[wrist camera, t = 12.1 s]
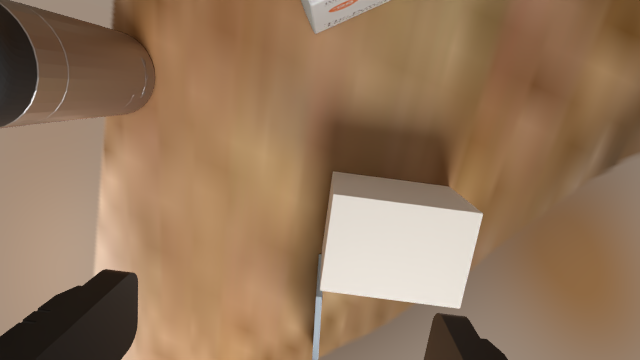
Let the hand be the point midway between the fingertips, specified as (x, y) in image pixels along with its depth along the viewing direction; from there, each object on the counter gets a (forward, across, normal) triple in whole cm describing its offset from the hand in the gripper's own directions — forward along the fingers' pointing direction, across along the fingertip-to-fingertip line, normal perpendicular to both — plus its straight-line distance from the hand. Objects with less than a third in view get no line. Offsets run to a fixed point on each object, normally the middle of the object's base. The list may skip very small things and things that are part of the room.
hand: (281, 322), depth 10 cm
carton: (+34, -9, +8) cm, 36 cm away
